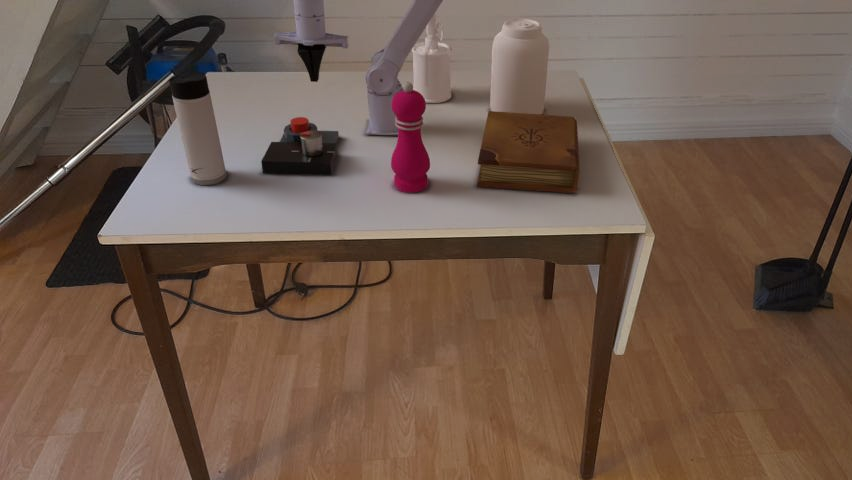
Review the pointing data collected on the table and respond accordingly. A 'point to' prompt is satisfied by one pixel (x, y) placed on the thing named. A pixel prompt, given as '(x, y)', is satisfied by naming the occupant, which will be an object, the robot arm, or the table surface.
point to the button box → (295, 137)
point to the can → (519, 68)
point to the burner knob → (311, 143)
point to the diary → (529, 152)
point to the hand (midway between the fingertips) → (314, 80)
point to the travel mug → (198, 128)
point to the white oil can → (432, 66)
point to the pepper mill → (409, 141)
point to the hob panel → (298, 159)
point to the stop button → (299, 125)
